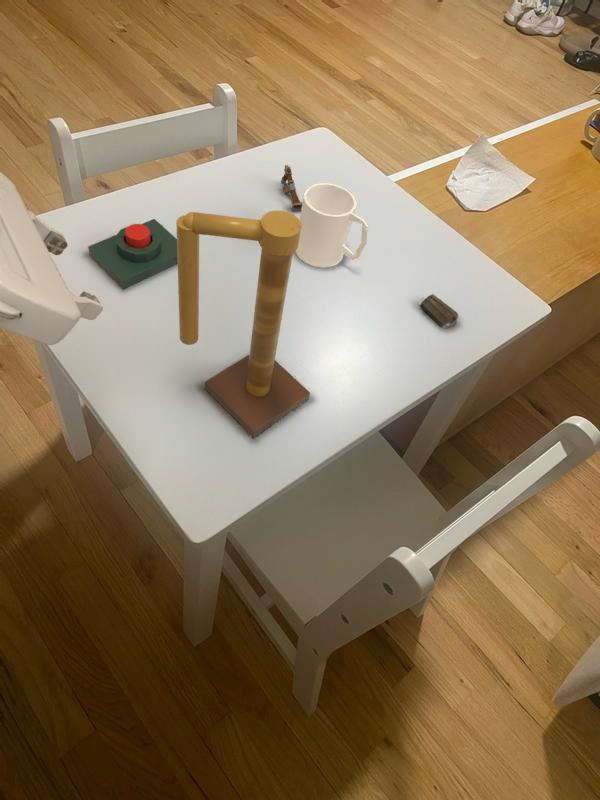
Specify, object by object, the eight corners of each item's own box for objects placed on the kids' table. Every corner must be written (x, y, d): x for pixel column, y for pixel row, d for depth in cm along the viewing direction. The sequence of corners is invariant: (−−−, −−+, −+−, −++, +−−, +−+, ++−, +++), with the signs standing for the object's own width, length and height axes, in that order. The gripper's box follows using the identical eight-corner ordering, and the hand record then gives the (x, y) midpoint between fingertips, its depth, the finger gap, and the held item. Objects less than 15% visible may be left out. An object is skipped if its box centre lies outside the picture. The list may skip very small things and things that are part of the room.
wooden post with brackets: (285, 176, 109) (292, 161, 105) (297, 216, 108) (304, 203, 104) (276, 177, 109) (282, 162, 104) (287, 217, 108) (294, 204, 103)
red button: (135, 251, 89) (134, 242, 88) (121, 238, 90) (120, 229, 89) (155, 243, 91) (154, 233, 90) (141, 230, 92) (140, 220, 91)
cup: (341, 287, 96) (354, 237, 88) (284, 248, 99) (292, 196, 91) (370, 264, 100) (386, 214, 92) (315, 228, 103) (326, 176, 95)
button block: (123, 289, 89) (121, 271, 86) (89, 255, 92) (86, 236, 89) (189, 258, 95) (188, 240, 92) (154, 227, 98) (153, 209, 95)
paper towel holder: (253, 438, 77) (274, 294, 56) (204, 388, 80) (207, 236, 60) (308, 399, 82) (346, 253, 61) (260, 353, 85) (281, 202, 65)
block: (430, 299, 97) (433, 291, 95) (459, 320, 95) (463, 312, 93) (416, 309, 95) (420, 301, 94) (446, 331, 93) (450, 323, 92)
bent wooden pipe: (280, 334, 74) (301, 212, 60) (279, 359, 72) (301, 239, 57) (181, 324, 73) (178, 197, 58) (177, 349, 71) (173, 223, 56)
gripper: (-11, 270, 40) (142, 327, 51) (-80, 111, 49) (62, 190, 61) (-61, 336, 41) (97, 376, 53) (-119, 170, 51) (27, 236, 62)
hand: (78, 276), depth 57 cm, fingers open, 8 cm apart
